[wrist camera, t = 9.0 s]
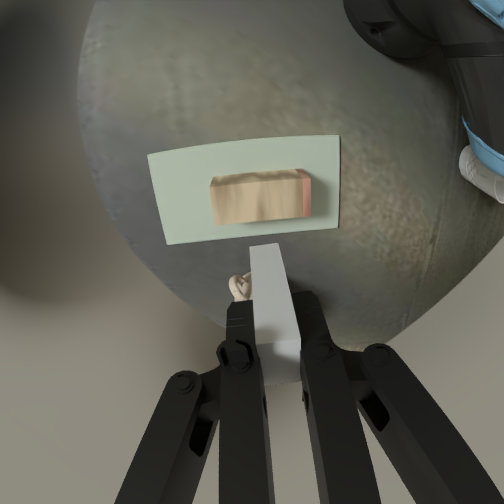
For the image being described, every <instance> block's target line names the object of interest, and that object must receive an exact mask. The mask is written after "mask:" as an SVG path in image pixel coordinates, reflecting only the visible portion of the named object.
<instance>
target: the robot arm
mask: <svg viewBox="0 0 504 504" xmlns="http://www.w3.org/2000/svg"><path fill="white" fill-rule="evenodd" d="M343 3H344V8H345V12H346V15H347V17H348V19H349V21H350V23H351V24H352V26H353V27H354V29H355V30H356V32H357V33H358V34H359V35H360V36H361V37H362V38H363V39H364V40H365V41H366V42H367V43H368V44H369V45H371V46H372V47H373V48H375V49H376V50H378V51H380V52H382V53H383V54H386V55H388V56H391V57H394V58H399V59H412V58H418V57H422V56H424V55H426V54H428V53H429V52H431V51H432V50H433V49H434V48H435V47H437V46H438V45H440V47H441V49H442V51H443V54H444V57H445V60H446V62H447V65H448V68H449V70H450V73H451V76H452V79H453V82H454V85H455V88H456V92H457V95H458V99H459V102H460V106H461V110H462V119H463V124H464V126H465V128H466V130H467V134H468V138H469V142H470V146H471V149H472V151H473V153H474V155H475V157H476V158H477V159H478V160H479V161H481V163H482V164H483V165H484V166H485V167H486V168H488V169H489V170H490V171H492V172H494V173H495V174H497V175H499V176H501V177H503V178H504V0H343ZM249 248H250V264H251V279H252V295H253V299H252V300H244V301H236V302H232V303H231V304H230V306H229V308H228V310H227V323H226V327H227V328H226V340H225V341H223V342H222V343H221V344H220V345H219V346H218V348H217V351H216V354H217V357H218V359H219V362H220V365H219V366H218V367H217V368H215V369H213V370H211V371H209V372H206V373H203V374H200V375H198V374H197V373H195V372H193V371H181V372H178V373H176V374H174V375H173V376H171V378H170V379H169V380H168V382H167V384H166V387H165V389H164V391H163V393H162V395H161V397H160V399H159V402H158V404H157V406H156V408H155V411H154V413H153V415H152V417H151V419H150V422H149V424H148V426H147V428H146V431H145V433H144V435H143V437H142V440H141V442H140V444H139V447H138V449H137V451H136V453H135V456H134V458H133V460H132V463H131V465H130V467H129V470H128V472H127V475H126V477H125V479H124V481H123V484H122V486H121V489H120V491H119V493H118V496H117V498H116V501H115V503H114V504H192V502H193V499H194V496H195V493H196V490H197V487H198V483H199V480H200V478H201V474H202V471H203V468H204V465H205V462H206V459H207V455H208V453H209V449H210V446H211V443H212V440H213V437H214V434H215V430H216V426H217V424H218V421H219V419H220V427H219V504H275V495H274V484H273V472H272V460H271V449H270V438H269V426H268V415H267V403H266V396H265V390H264V386H269V385H277V384H284V383H291V382H298V381H301V380H302V386H303V396H302V401H304V404H305V410H306V416H307V422H308V428H309V433H310V440H311V446H312V452H313V458H314V464H315V471H316V478H317V484H318V491H319V498H320V504H381V500H380V496H379V491H378V486H377V482H376V478H375V474H374V469H373V465H372V461H371V457H370V454H369V449H368V446H367V442H366V438H365V434H364V431H363V427H362V423H361V420H360V416H359V413H358V409H359V411H360V412H361V414H362V416H363V417H364V419H365V421H366V422H367V424H368V425H369V427H370V429H371V430H372V432H373V434H374V435H375V437H376V438H377V440H378V442H379V443H380V445H381V447H382V448H383V450H384V451H385V453H386V455H387V456H388V458H389V460H390V461H391V463H392V465H393V466H394V468H395V469H396V471H397V473H398V474H399V476H400V477H401V479H402V481H403V483H404V484H405V486H406V488H407V489H408V491H409V492H410V494H411V496H412V497H413V499H414V501H415V502H416V504H504V499H503V498H502V496H501V494H500V492H499V491H498V489H497V487H496V486H495V484H494V483H493V481H492V480H491V478H490V477H489V475H488V474H487V472H486V471H485V469H484V468H483V466H482V465H481V463H480V462H479V460H478V459H477V458H476V456H475V455H474V453H473V452H472V450H471V449H470V448H469V446H468V445H467V443H466V442H465V440H464V439H463V438H462V436H461V435H460V434H459V432H458V431H457V430H456V428H455V427H454V425H453V424H452V423H451V422H450V420H449V419H448V417H447V416H446V415H445V413H444V412H443V411H442V409H441V408H440V407H439V406H438V404H437V403H436V402H435V400H434V399H433V398H432V396H431V395H430V394H429V393H428V391H427V390H426V389H425V388H424V386H423V385H422V384H421V382H420V381H419V380H418V379H417V377H415V375H414V374H413V373H412V372H411V370H410V369H409V368H408V366H407V365H406V364H405V363H404V361H403V360H402V359H401V358H400V357H399V356H398V354H397V353H396V352H395V351H394V350H393V349H392V348H391V347H390V346H388V345H385V344H380V343H376V344H372V345H369V346H368V347H367V348H365V350H364V351H363V352H358V351H348V350H344V349H341V348H339V347H338V346H336V344H335V343H334V342H333V341H332V339H331V336H330V333H329V330H328V327H327V324H326V321H325V318H324V315H323V312H322V309H321V307H320V303H319V300H318V297H317V296H316V295H315V294H314V293H312V292H311V291H305V292H298V293H291V294H290V290H289V286H288V282H287V277H286V273H285V269H284V265H283V261H282V257H281V253H280V249H279V245H278V243H274V244H267V245H259V246H252V247H249ZM357 408H358V409H357Z"/></svg>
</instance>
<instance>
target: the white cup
mask: <svg viewBox="0 0 504 504" xmlns="http://www.w3.org/2000/svg"><path fill="white" fill-rule="evenodd" d="M459 169H460V172H461V175H462V176H463V177H464V178H465V179H466V180H468V181H470V182H471V183H473V184H474V185H475V186H476V187H478V188H480V189H481V190H482V191H484V192H485V193H487V194H488V195H490V196H491V197H493V198H494V199H496V200H497V201H499V202H500V203H502V204H504V178H503V177H501V176H499V175H497V174H495V173H494V172H492V171H490V170H489V169H488V168H486V167H485V166H484V165H483V164H482V163H481V161H479V160H478V159H477V158H476V157H475V155H474V153H473V151H472V149H471V146H470V145H468V146H466V147H465V148H464V149H463V150H462V152H461V155H460V158H459Z"/></svg>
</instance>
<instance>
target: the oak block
mask: <svg viewBox="0 0 504 504" xmlns="http://www.w3.org/2000/svg"><path fill="white" fill-rule="evenodd" d="M209 189H210V196H211V202H212V208H213V215H214V221H215V226H216V225H226V224H235V223H245V222H255V221H265V220H275V219H286V218H297V217H309V216H311V178H310V177H309V176H308V175H307V174H306V172H305V171H304V170H303V169H302V168H301V169H286V170H272V171H261V172H250V173H240V174H231V175H222V176H214V177H213V178H212V181H211V184H210V187H209Z"/></svg>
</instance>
